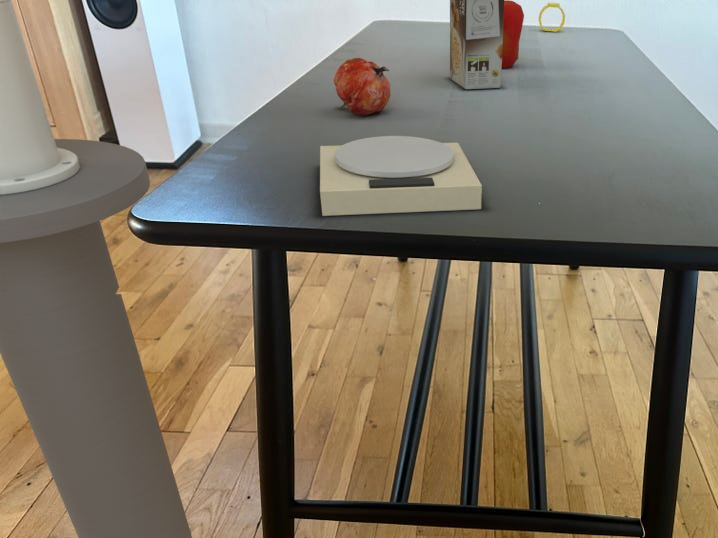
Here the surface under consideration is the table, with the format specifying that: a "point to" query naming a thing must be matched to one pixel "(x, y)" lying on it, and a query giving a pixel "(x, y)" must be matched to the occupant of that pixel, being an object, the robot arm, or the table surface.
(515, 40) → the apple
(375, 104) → the pomegranate
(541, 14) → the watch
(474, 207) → the scale
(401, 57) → the table surface
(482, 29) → the coffee box
